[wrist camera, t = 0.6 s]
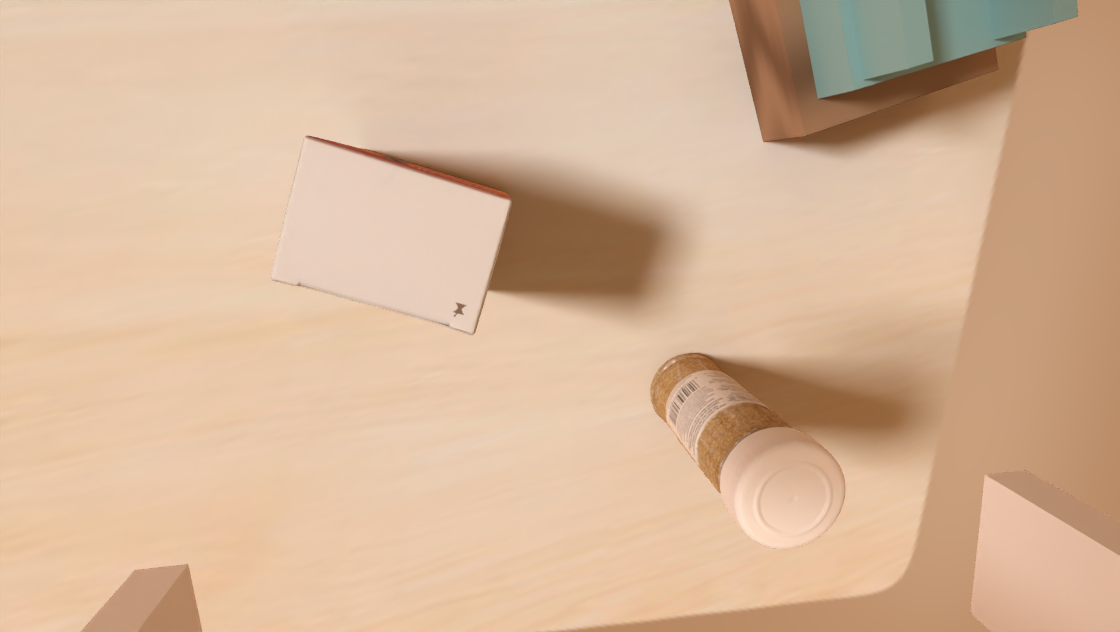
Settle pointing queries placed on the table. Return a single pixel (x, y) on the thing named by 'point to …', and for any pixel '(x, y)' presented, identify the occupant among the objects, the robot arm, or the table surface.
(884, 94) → the bottom block
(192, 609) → the robot arm
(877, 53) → the top block
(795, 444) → the sprinkles bottle
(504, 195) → the small box
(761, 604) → the table surface
